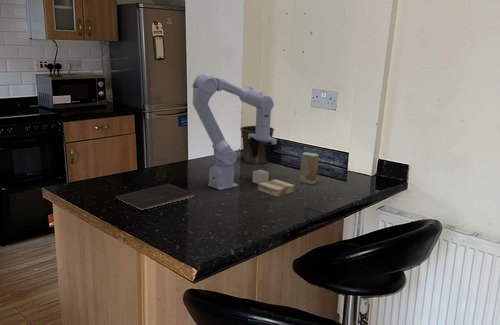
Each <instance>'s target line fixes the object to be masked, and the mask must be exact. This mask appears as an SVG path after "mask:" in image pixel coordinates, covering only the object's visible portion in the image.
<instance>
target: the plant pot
mask: <svg viewBox="0 0 500 325" xmlns="http://www.w3.org/2000/svg"><path fill="white" fill-rule="evenodd" d="M239 129H240V131H241V138H242V139H241V140H242V150H243V151H242V152H243V161H244V162H245V163H250V164H255V165H259V164H265V163H269V161H266V160H265V148H264V144H268V143H267V142H263V141H260V143H259V148H258V156H257V157H253V156H252V152H251V148H250V145H249V143H248V140H250V139H249V138H248V134H251V133H252V134H255V131H256V125H246V126H241V127H240V128H239ZM274 131H275V128H273V127H271V126H270V136H271V137H272V138H273V135H274Z"/></svg>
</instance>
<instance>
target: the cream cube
mask: <svg viewBox="0 0 500 325" xmlns="http://www.w3.org/2000/svg"><path fill="white" fill-rule="evenodd" d="M269 175H270V172H269V171H267V170H264V169H257V170H252V183H255V184H257V185H258V184H259V183H263V182H267V181H269V178H270V177H269Z"/></svg>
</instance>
